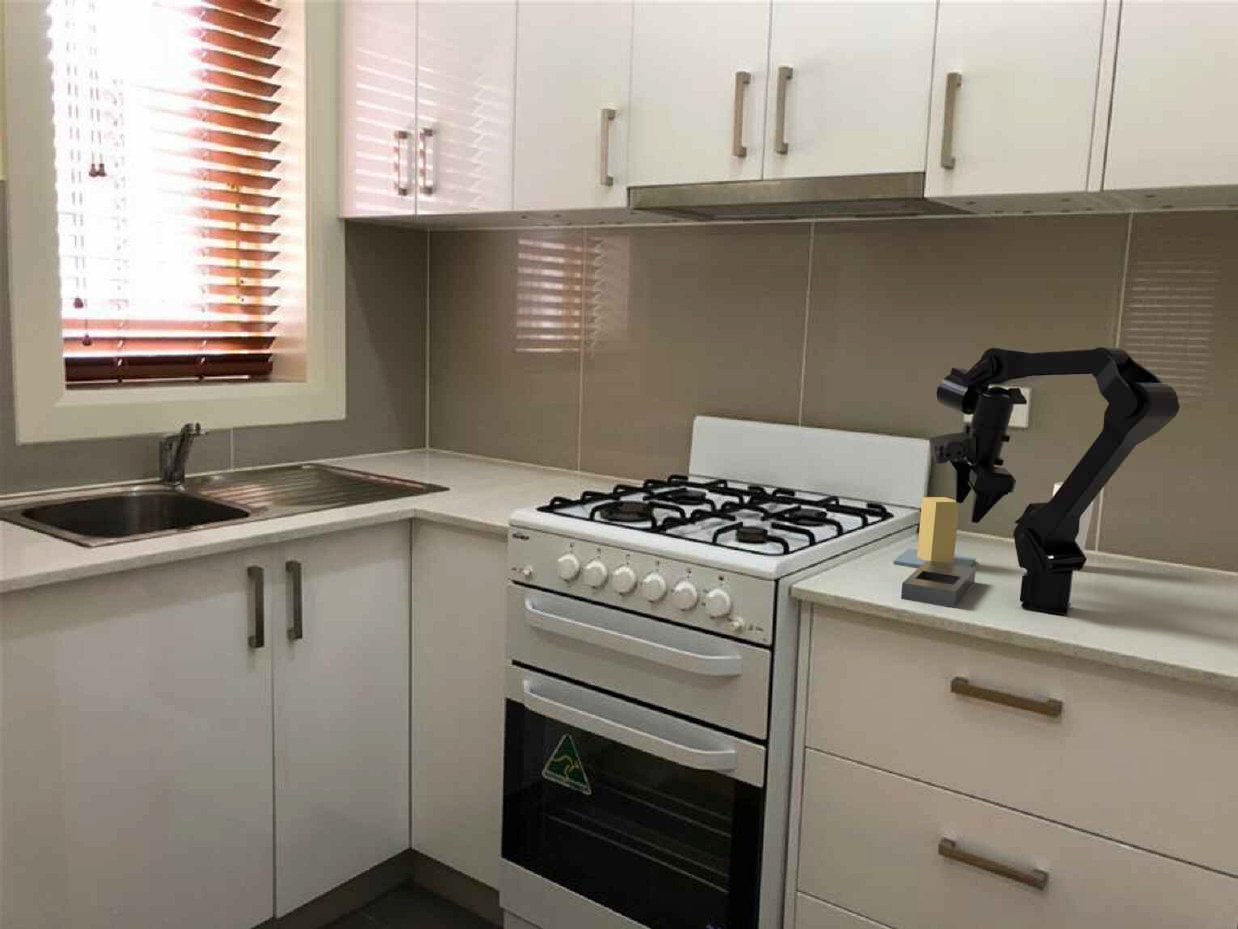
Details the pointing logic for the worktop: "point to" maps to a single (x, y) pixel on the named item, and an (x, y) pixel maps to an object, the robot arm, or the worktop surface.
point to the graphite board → (938, 583)
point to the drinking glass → (1083, 523)
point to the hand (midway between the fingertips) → (966, 512)
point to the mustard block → (938, 529)
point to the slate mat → (912, 560)
